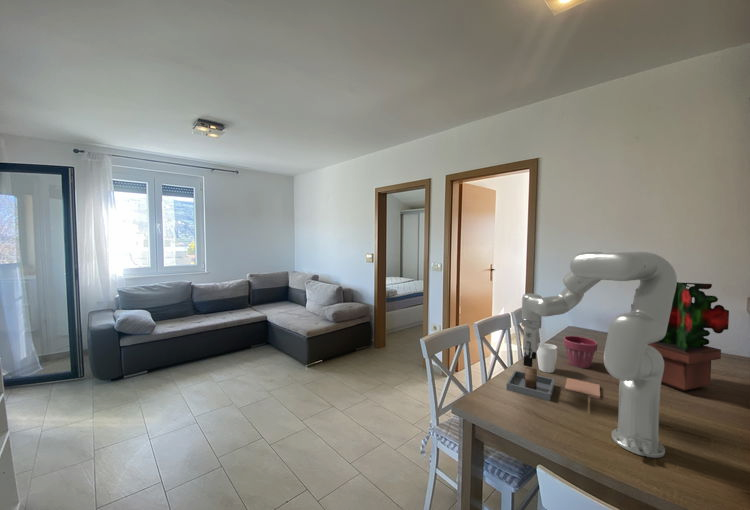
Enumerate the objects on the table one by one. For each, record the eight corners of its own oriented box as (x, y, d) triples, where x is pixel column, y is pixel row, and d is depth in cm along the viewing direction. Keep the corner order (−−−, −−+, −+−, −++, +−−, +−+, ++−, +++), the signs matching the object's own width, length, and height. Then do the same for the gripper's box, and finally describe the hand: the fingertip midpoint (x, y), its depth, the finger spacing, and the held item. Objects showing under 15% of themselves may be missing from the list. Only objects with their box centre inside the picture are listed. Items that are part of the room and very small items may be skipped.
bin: (549, 403, 119) (550, 394, 119) (506, 391, 128) (506, 383, 128) (554, 387, 132) (554, 379, 132) (514, 377, 141) (514, 370, 141)
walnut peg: (535, 390, 127) (535, 372, 127) (524, 388, 130) (524, 369, 129) (537, 386, 131) (537, 368, 130) (526, 384, 133) (526, 366, 133)
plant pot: (603, 367, 152) (604, 342, 151) (584, 372, 146) (585, 346, 146) (575, 357, 165) (575, 334, 164) (557, 361, 160) (557, 337, 159)
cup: (560, 374, 144) (560, 349, 144) (539, 373, 146) (539, 348, 145) (553, 366, 153) (553, 343, 152) (533, 365, 155) (534, 342, 154)
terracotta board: (600, 398, 122) (600, 396, 122) (564, 390, 129) (564, 388, 129) (599, 387, 132) (599, 384, 131) (566, 379, 139) (567, 377, 138)
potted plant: (689, 399, 121) (693, 287, 119) (629, 376, 142) (632, 280, 140) (725, 391, 127) (730, 284, 125) (662, 370, 148) (666, 278, 146)
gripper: (538, 329, 120) (536, 371, 121) (544, 319, 134) (542, 357, 135) (517, 326, 124) (516, 366, 125) (525, 317, 138) (524, 353, 139)
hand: (529, 362), depth 130 cm, fingers open, 9 cm apart
